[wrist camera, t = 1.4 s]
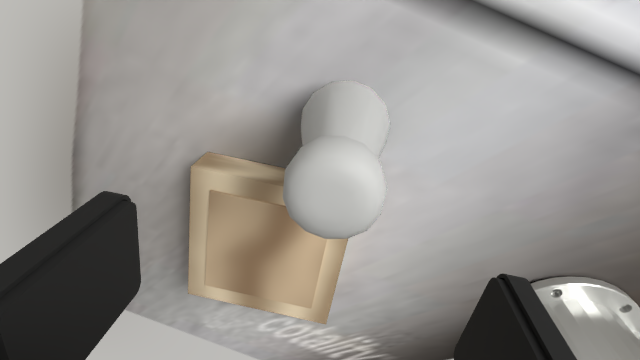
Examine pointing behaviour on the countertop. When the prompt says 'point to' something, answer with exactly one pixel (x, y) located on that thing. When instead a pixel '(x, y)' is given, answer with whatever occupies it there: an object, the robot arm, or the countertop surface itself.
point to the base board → (256, 242)
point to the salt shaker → (338, 162)
